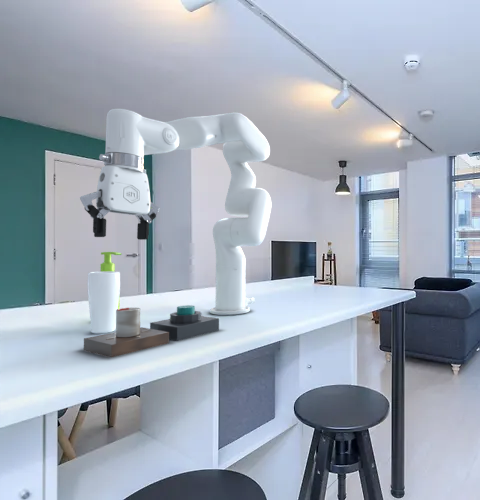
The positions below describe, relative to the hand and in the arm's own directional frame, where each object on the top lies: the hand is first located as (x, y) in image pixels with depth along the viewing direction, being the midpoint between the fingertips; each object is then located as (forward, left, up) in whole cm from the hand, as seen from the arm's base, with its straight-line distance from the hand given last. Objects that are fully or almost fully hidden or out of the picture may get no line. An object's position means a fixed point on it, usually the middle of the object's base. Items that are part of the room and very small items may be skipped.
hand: (122, 238), depth 81 cm
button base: (-11, +8, -23) cm, 27 cm away
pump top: (-11, +8, -19) cm, 23 cm away
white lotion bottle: (-2, -11, -24) cm, 26 cm away
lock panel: (+3, +8, -23) cm, 25 cm away
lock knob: (+3, +8, -21) cm, 22 cm away
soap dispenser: (-10, -24, -24) cm, 35 cm away
